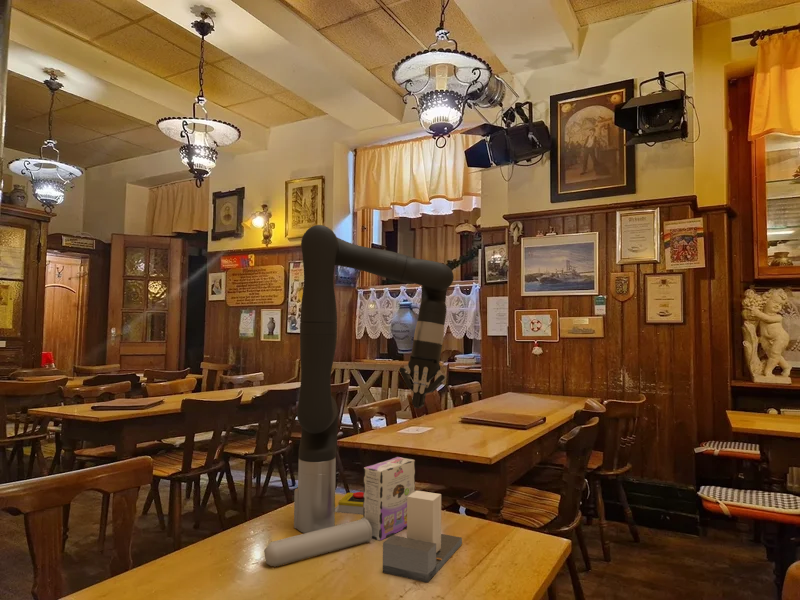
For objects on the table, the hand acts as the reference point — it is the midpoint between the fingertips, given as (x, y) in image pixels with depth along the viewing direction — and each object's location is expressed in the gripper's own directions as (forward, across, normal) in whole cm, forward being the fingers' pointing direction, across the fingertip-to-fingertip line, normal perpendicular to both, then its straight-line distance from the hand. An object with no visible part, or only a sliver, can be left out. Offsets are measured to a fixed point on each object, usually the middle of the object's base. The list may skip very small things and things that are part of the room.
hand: (417, 407), depth 138 cm
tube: (+34, -10, -20) cm, 41 cm away
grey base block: (+30, +12, -13) cm, 35 cm away
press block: (+28, +12, -14) cm, 34 cm away
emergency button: (+32, -14, +10) cm, 36 cm away
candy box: (+31, -2, -2) cm, 31 cm away
